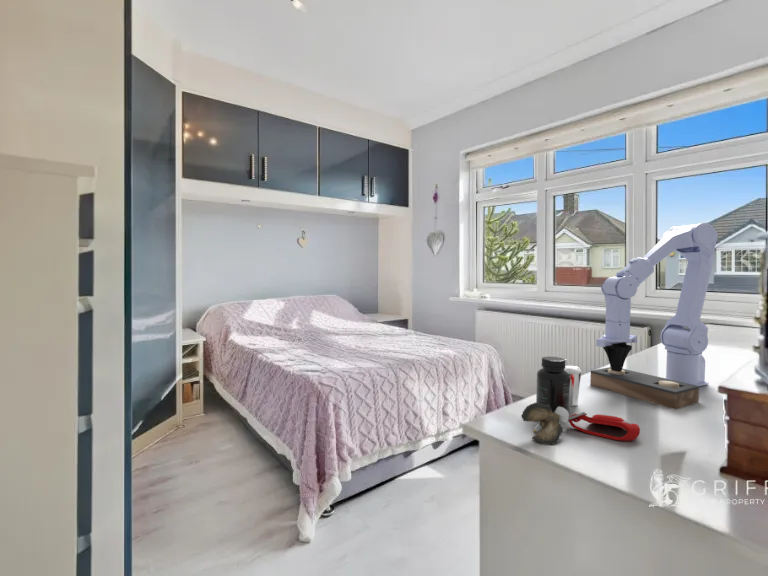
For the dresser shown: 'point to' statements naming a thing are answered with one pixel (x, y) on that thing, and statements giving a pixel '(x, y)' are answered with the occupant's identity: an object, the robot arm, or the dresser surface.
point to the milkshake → (573, 382)
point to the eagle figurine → (546, 422)
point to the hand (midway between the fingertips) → (616, 370)
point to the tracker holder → (606, 420)
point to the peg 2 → (669, 384)
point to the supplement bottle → (553, 384)
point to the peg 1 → (616, 372)
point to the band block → (646, 388)
